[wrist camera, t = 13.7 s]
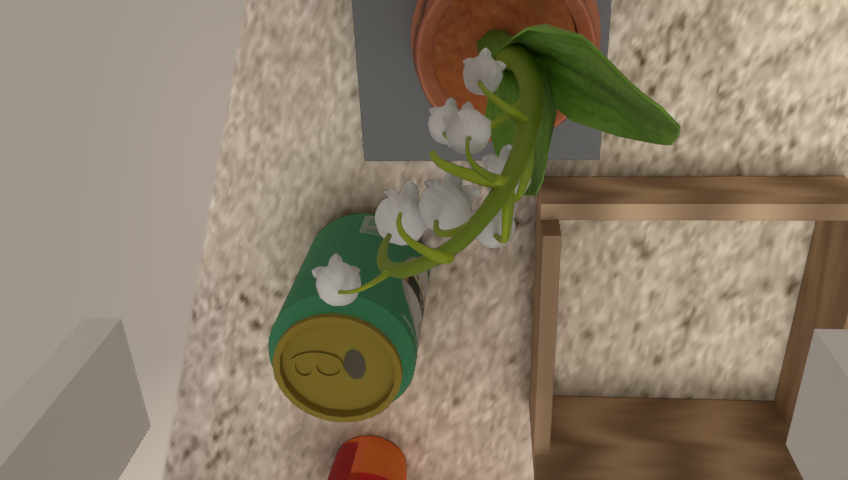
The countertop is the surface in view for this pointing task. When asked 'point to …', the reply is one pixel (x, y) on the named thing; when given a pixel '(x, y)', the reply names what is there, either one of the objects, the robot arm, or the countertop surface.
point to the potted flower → (497, 121)
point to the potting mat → (407, 104)
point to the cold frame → (681, 418)
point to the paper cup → (369, 460)
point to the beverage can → (349, 329)
